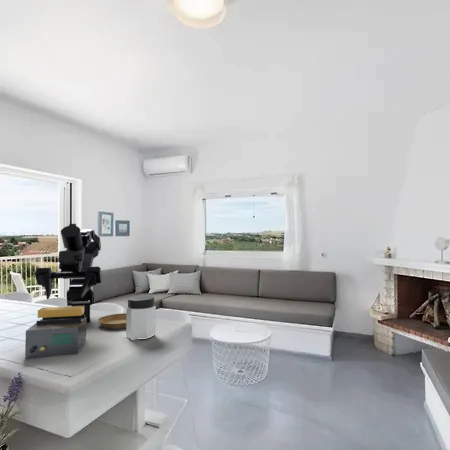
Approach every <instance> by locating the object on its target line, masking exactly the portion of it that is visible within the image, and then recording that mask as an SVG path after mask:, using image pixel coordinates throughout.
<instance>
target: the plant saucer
mask: <svg viewBox="0 0 450 450" xmlns="http://www.w3.org/2000/svg"><path fill="white" fill-rule="evenodd" d="M126 315H127V312H124V313H122V312H121V313H114V314H108V315H107V314H106V315H104V316H102V317H100V318H98V319H97V322H98V323H99V324H100V325H101V326H102V327H104V328H105V329H109V330H118V329H119V330H121V329H126Z"/></svg>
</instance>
